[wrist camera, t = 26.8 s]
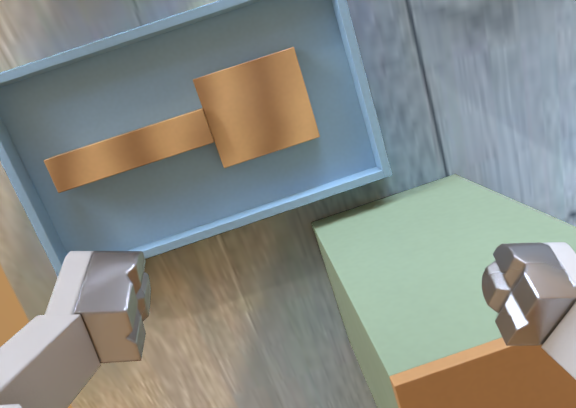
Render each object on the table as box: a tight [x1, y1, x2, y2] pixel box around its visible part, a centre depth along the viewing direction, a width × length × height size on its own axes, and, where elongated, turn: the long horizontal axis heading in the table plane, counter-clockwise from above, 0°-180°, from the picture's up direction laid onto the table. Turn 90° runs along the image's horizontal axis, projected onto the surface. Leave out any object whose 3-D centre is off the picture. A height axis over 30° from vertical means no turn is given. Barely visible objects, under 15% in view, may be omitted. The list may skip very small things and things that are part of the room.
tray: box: [0, 0, 392, 276], centre depth 42 cm, size 32×19×3 cm, turn 108°
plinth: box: [311, 174, 576, 408], centre depth 36 cm, size 15×14×26 cm
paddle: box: [44, 47, 320, 193], centre depth 42 cm, size 23×8×2 cm, turn 107°
